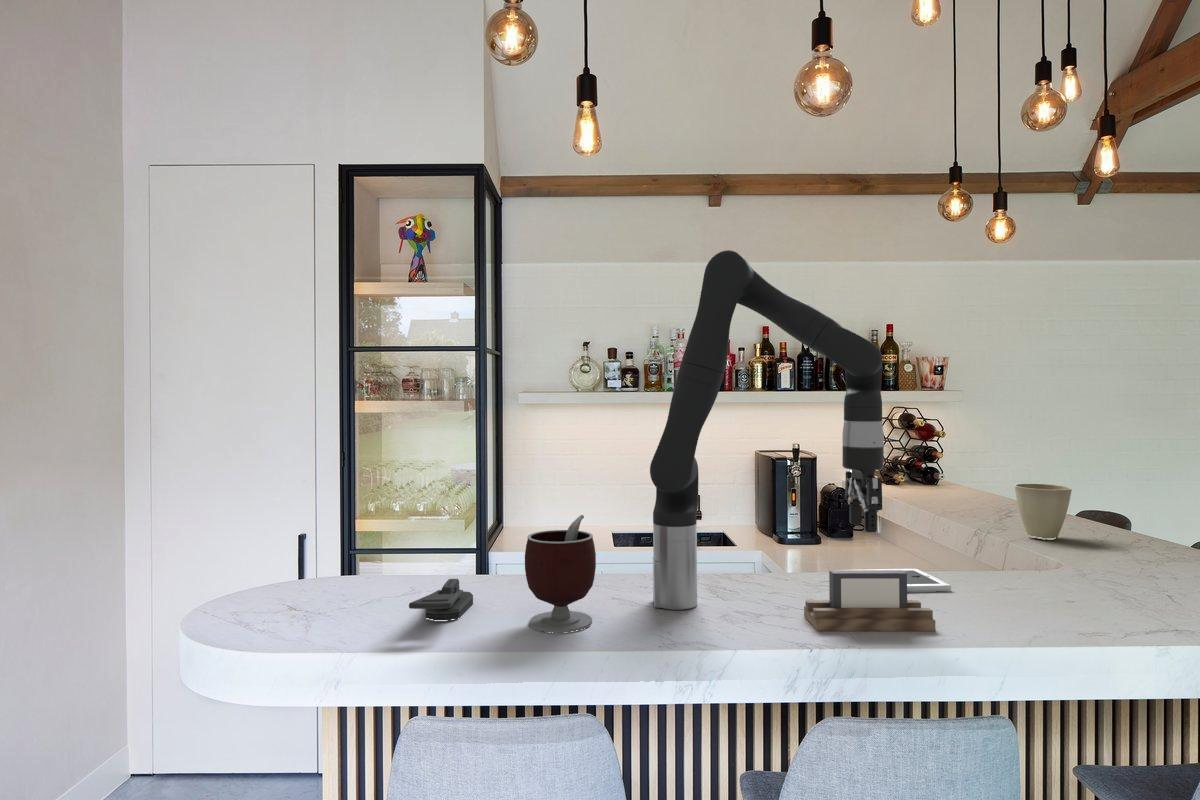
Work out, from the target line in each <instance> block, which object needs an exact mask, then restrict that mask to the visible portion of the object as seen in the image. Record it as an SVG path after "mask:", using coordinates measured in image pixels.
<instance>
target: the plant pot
mask: <svg viewBox="0 0 1200 800" xmlns="http://www.w3.org/2000/svg"><path fill="white" fill-rule="evenodd" d="M1014 490H1015V497H1016V503H1017V508H1018V511H1019V514H1020V515H1019V516H1020V518H1021V521H1022V524H1023V527H1024V529H1025V532H1026V534H1028V535H1031V536H1036V537H1042V538H1055V537H1057V538H1058V537H1059V535H1060V532H1061V530H1062V527H1063V525H1064V521H1065V519H1066V515H1067V512H1068V510H1069V507H1070V506H1069V505H1070V501H1071V496H1072V487H1069V486H1063V485H1058V484H1057V485H1056V484H1048V483H1047V484H1046V483H1017V484H1014ZM1028 535H1027V536H1028Z"/></svg>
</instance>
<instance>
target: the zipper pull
mask: <svg viewBox="0 0 1200 800" xmlns="http://www.w3.org/2000/svg"><path fill="white" fill-rule="evenodd" d="M472 605H473V606H474V595H473V594H472V592H471V591H464V590H463V589H460V580H459V578H448V579H447V581H446V582H445V583H444V584H443V585H442V587H441V589H437V590H436V591H434V592H432V593H430V594H428V595H425V596H423V597H420V598H418V599H416V600H414V601H411V602H409V604H408V609H413V610H414V609H417V610H422V609H423V610H425V619H426V618H429V619H433V620H451V619H458V618H460V617H461V616H462V615H463V614H464V613H465V612H466V611H467V610H468V609H469V608H470V607H471V606H472ZM473 606H472V607H473ZM472 607H471V608H472ZM471 608H470V609H471ZM470 609H469V610H470ZM469 610H468V611H469ZM468 611H467V612H468ZM467 612H466V613H467ZM466 613H465V614H466ZM465 614H464V615H465ZM464 615H463V616H464ZM463 616H462V617H463ZM462 617H461V618H462ZM461 618H460V619H461Z"/></svg>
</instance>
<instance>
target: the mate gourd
mask: <svg viewBox="0 0 1200 800" xmlns="http://www.w3.org/2000/svg"><path fill="white" fill-rule="evenodd" d="M582 520H584V515H583V514H580V515H579V516H578V517H577V518H576V519H575V520H574V521H573V522H571V524H570V525H569V526H568V528H567V529H553V530H543V531H536V532H533V533H530V534H528V535H527V537H526V538H527V540H526V544H525V550H524V551H525V552H524V570H525V571H524V572H525V578H526V582H527V586H528V589H529V590H530V591H531V593H532V594H533V595H534V597H535V598H536V599H537V600H539V601H541V602H545V603H547V604H551V605H553V608H552V610H551V611H545V612H541V613H538V614H535V615H533V616H532V617H530V619H529V627H530V626H531V627H532V628H531V627H530V628H531V629H533V628H534V629H536V630H535V631H537V630H539V631H538V632H540V631H545V632H544V633H546V632H551V633H550V634H565V633H564V632H571V631H576V630H581V629H584V628H587V627H588V626H590V625H591V624H592V625H593V617H591V616H590V615H589V614H587V613H585V612H581V611H574V610H570V609H569V605H571V604H573V603H575V602H577V601H580V600H582V599H584V598H585V597H586V596H587V595H588V593H589V592H590V590H591V589H592V587H593V585H594V582H595V576H596V575H595V574H596V568H597V560H596V559H597V558H596V556H597V553H596V548H595V547H596V546H595V542H594V534H592V533H591V532H588V531H584V530H583V531H582V530H579V529H580V526H581V523H582ZM592 625H591V626H592ZM591 626H590V627H591ZM534 629H533V630H534ZM587 629H588V628H587ZM584 630H585V629H584ZM581 631H582V630H581ZM552 632H553V633H552Z"/></svg>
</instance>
